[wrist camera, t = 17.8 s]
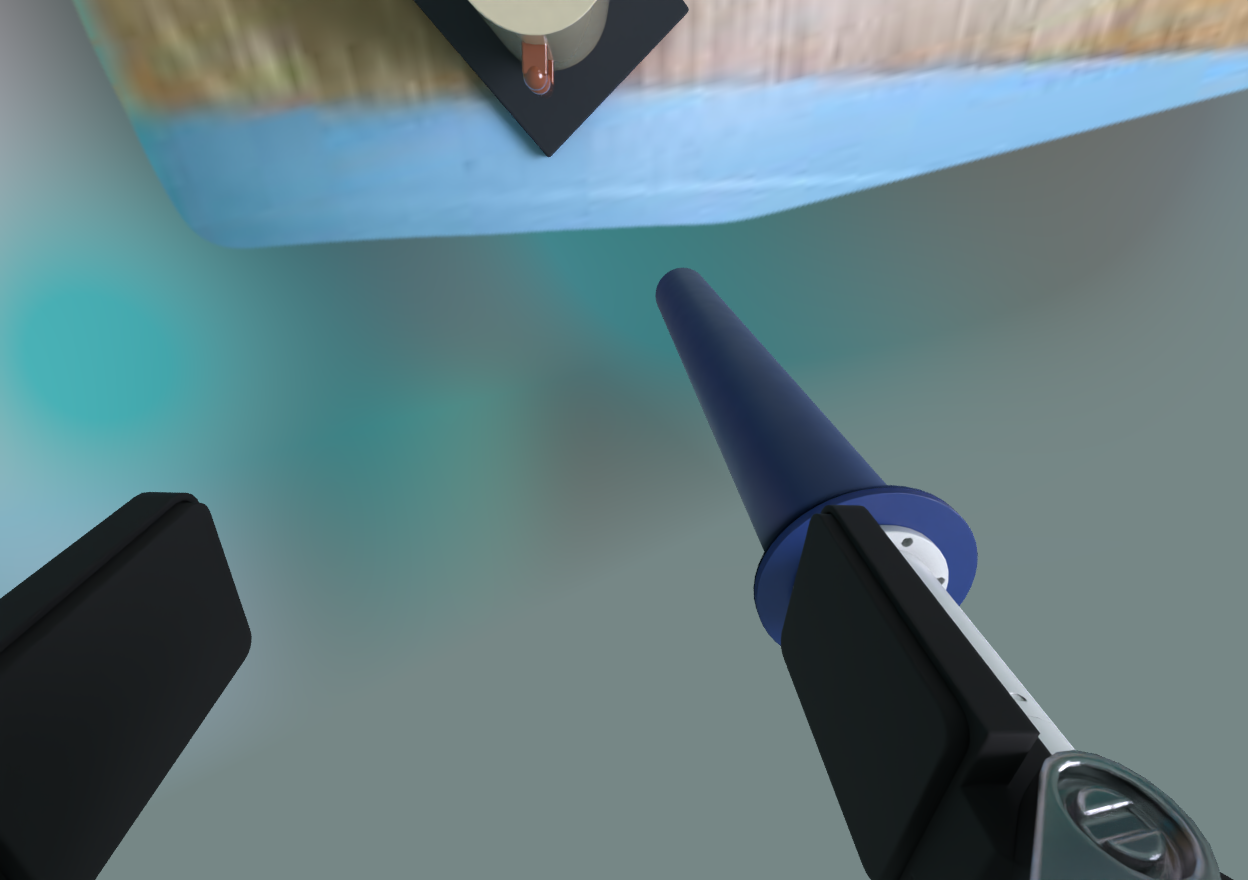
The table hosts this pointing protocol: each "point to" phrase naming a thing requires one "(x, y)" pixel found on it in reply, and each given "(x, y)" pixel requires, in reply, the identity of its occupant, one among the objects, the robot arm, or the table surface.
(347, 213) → the table surface
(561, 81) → the rubber mat
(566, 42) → the cream cylinder canister
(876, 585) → the robot arm
